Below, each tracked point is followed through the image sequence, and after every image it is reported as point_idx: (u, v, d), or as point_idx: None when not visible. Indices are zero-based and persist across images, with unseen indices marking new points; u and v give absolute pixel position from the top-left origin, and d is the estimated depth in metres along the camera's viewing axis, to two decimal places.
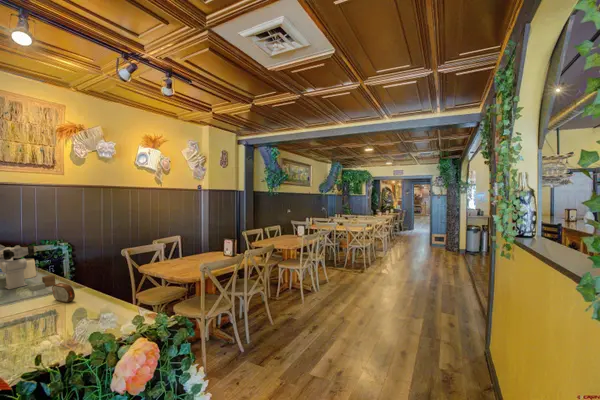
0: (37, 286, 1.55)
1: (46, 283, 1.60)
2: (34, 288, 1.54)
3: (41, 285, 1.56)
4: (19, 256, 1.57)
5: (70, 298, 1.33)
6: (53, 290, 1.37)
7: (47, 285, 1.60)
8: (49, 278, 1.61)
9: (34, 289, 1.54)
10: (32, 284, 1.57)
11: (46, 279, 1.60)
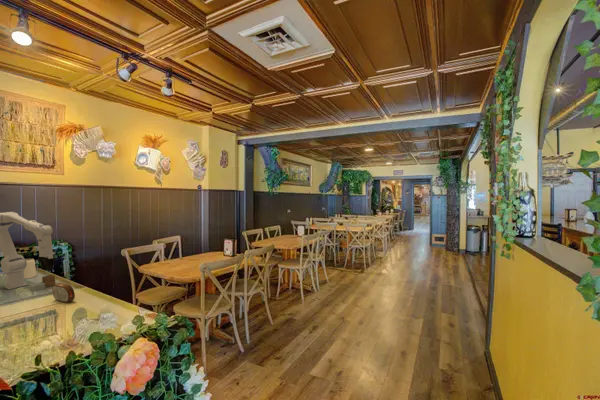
0: (37, 286, 1.55)
1: (46, 283, 1.60)
2: (34, 288, 1.54)
3: (41, 285, 1.56)
4: None
5: (70, 298, 1.33)
6: (53, 290, 1.37)
7: (47, 285, 1.60)
8: (49, 278, 1.61)
9: (34, 289, 1.54)
10: (32, 284, 1.57)
11: (46, 279, 1.60)
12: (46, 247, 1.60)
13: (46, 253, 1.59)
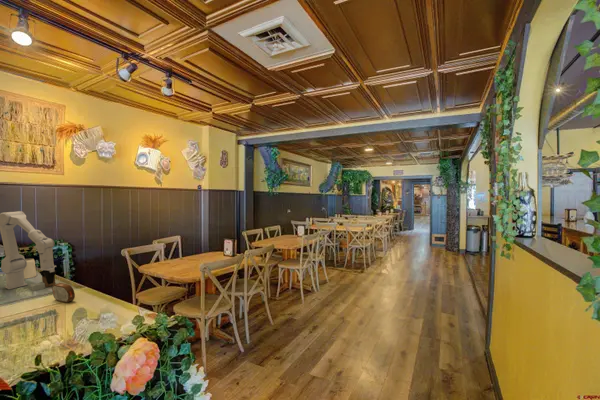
0: (37, 286, 1.55)
1: (46, 283, 1.60)
2: (34, 288, 1.54)
3: (41, 285, 1.56)
4: None
5: (70, 298, 1.33)
6: (53, 290, 1.37)
7: (47, 285, 1.60)
8: None
9: (34, 289, 1.54)
10: (32, 284, 1.57)
11: (46, 279, 1.60)
12: (47, 260, 1.60)
13: (47, 266, 1.60)
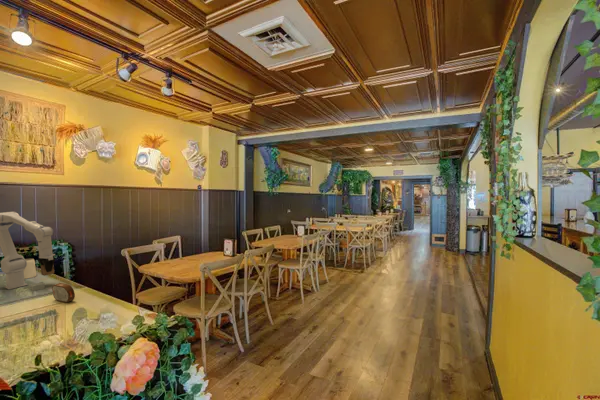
0: (37, 286, 1.55)
1: (45, 272, 1.59)
2: (33, 288, 1.54)
3: (41, 285, 1.56)
4: None
5: (70, 298, 1.33)
6: (53, 290, 1.37)
7: (46, 273, 1.60)
8: None
9: (34, 289, 1.54)
10: (32, 284, 1.57)
11: None
12: (46, 248, 1.59)
13: (46, 254, 1.59)
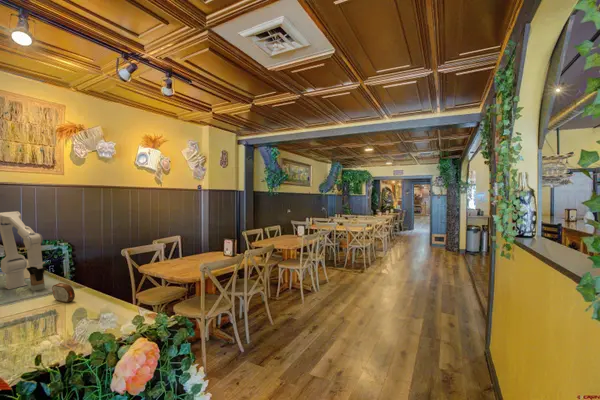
0: (36, 286, 1.55)
1: (34, 282, 1.54)
2: (33, 288, 1.54)
3: (40, 285, 1.56)
4: None
5: (70, 298, 1.33)
6: (53, 290, 1.37)
7: (35, 283, 1.55)
8: None
9: (33, 289, 1.54)
10: None
11: (34, 277, 1.54)
12: (35, 257, 1.54)
13: (35, 263, 1.54)
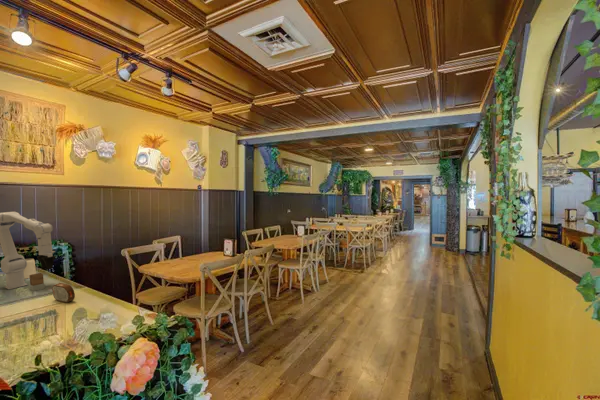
0: (36, 286, 1.55)
1: (34, 282, 1.54)
2: (33, 288, 1.54)
3: (40, 285, 1.56)
4: None
5: (70, 298, 1.33)
6: (53, 290, 1.37)
7: (35, 283, 1.55)
8: (37, 276, 1.55)
9: (33, 289, 1.54)
10: None
11: (34, 277, 1.54)
12: (45, 245, 1.58)
13: (45, 251, 1.58)
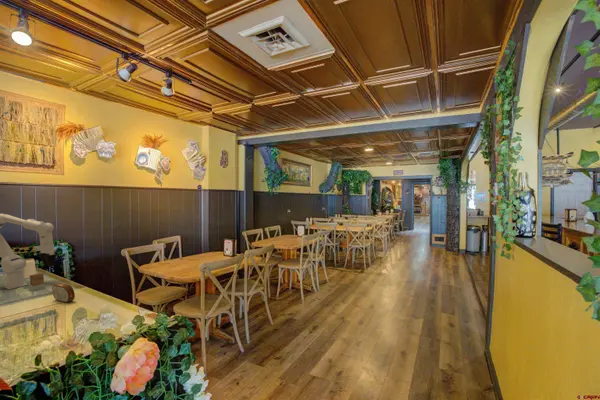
0: (36, 286, 1.55)
1: (34, 282, 1.54)
2: (33, 288, 1.54)
3: (40, 285, 1.56)
4: None
5: (70, 298, 1.33)
6: (53, 290, 1.37)
7: (35, 284, 1.54)
8: (37, 276, 1.55)
9: (33, 289, 1.54)
10: None
11: (34, 277, 1.54)
12: (47, 244, 1.64)
13: (47, 249, 1.64)
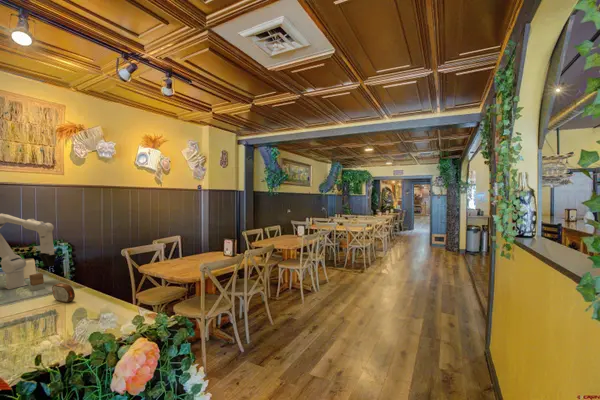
0: (36, 286, 1.55)
1: (34, 282, 1.54)
2: (33, 288, 1.54)
3: (40, 285, 1.56)
4: None
5: (70, 298, 1.33)
6: (53, 290, 1.37)
7: (35, 283, 1.54)
8: (37, 276, 1.55)
9: (33, 289, 1.54)
10: None
11: (34, 277, 1.54)
12: (47, 244, 1.64)
13: (47, 249, 1.64)
